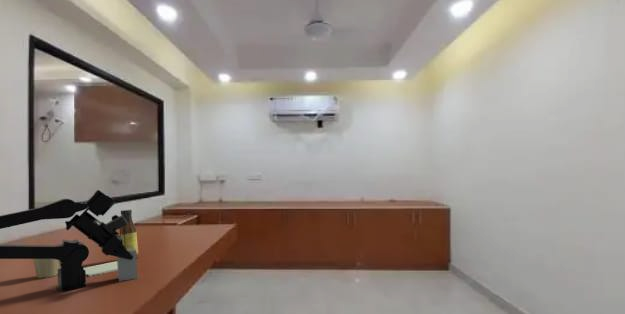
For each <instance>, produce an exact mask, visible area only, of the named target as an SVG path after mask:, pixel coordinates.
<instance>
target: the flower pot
mask: <svg viewBox="0 0 625 314" xmlns="http://www.w3.org/2000/svg"><path fill="white" fill-rule="evenodd" d="M32 260H33V265H34V270H35V274H36V278H37V279H43V278H45V279H47V278H52V277H55V276H58V269H60V268H59V267H60V264H59V260H56V259H32Z"/></svg>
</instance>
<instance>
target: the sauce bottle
mask: <svg viewBox="0 0 625 314" xmlns="http://www.w3.org/2000/svg"><path fill="white" fill-rule="evenodd" d="M132 213H133V211H132V209H122V210H120V214H121V215H120V216H122V215H123V216H124V217H125V219H126V221H127V222H128V225H126V226H123V227H121V228H119V229H118V230H119V235H120V236H121V238H122V239H123V245H124V246H125V247H126V248H127V249H132V248H135V250H136V257H137V259H138V258H139V247H138V246H139V245H138V235H137V229H136V226H135V223H134V222H133V217H132V215H133V214H132Z"/></svg>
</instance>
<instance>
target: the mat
mask: <svg viewBox="0 0 625 314" xmlns="http://www.w3.org/2000/svg"><path fill="white" fill-rule="evenodd" d="M83 268H84V270H85V273H86V276H87V275H88V276H87V277H93V276H92V275H95V276H98V275H97V274H99V275H103V273H104V274H107V273H113V272H118V267H117V260H115V261H112V262H111V261H110V262H107V263H101V264H97V265H92V266H87V267H83Z"/></svg>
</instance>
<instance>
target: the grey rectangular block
mask: <svg viewBox="0 0 625 314" xmlns="http://www.w3.org/2000/svg"><path fill="white" fill-rule="evenodd" d="M127 251H128V252H129V253H130V254H131V255H132V256H133V259H132V260H129V259H125V258H120V257H116V261H117V267H118V270H117V279H119V280H118V282H125V281H130V279H131V280H136V279H138V264H137V263H138V261H137V260H138V258H137V257H136V250H135V248H132V249H127ZM124 280H125V281H124Z"/></svg>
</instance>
